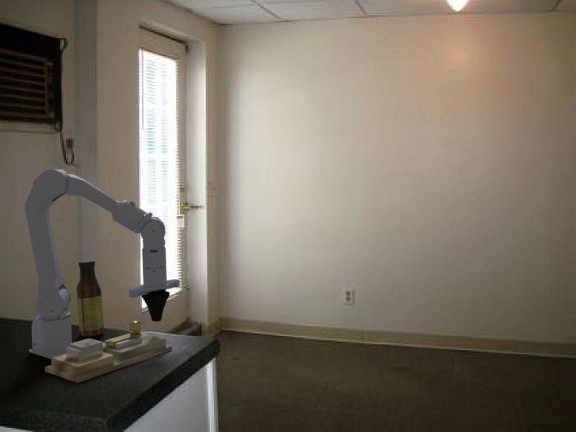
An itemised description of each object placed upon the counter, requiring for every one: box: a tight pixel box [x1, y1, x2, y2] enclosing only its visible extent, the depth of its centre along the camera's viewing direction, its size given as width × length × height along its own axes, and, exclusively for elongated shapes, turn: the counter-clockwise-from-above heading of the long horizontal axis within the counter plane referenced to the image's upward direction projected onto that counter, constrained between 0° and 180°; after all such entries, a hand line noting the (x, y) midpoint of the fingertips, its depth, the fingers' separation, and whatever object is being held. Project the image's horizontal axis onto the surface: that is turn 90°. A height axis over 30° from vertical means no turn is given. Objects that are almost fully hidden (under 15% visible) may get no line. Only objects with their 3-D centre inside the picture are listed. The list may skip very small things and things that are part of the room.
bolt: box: [107, 319, 142, 347], centre depth 137 cm, size 2×8×4 cm, turn 144°
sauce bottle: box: [76, 259, 105, 338], centre depth 155 cm, size 7×6×20 cm
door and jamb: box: [44, 332, 173, 384], centre depth 134 cm, size 12×26×3 cm, turn 144°
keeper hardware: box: [66, 333, 142, 362], centre depth 133 cm, size 5×17×3 cm, turn 144°
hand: (156, 320), depth 145 cm, fingers closed
